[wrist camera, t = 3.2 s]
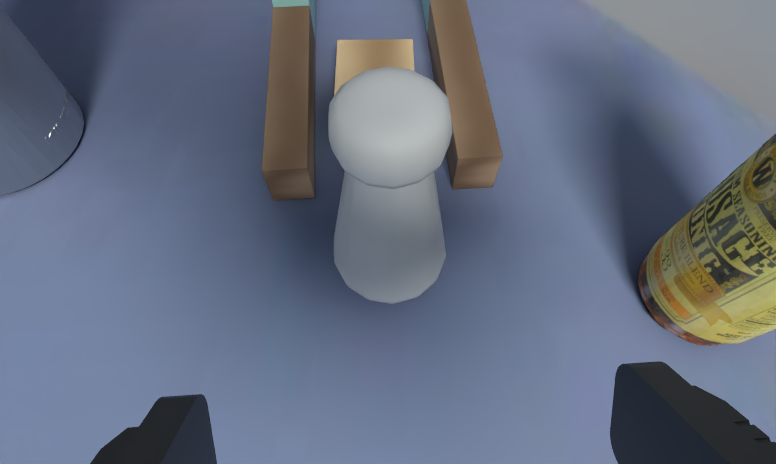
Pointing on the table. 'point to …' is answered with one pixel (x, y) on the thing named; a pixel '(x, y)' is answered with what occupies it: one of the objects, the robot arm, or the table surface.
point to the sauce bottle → (719, 260)
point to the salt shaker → (389, 182)
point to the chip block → (371, 57)
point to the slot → (297, 101)
